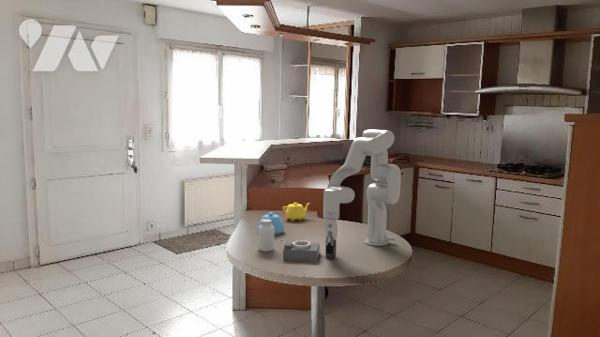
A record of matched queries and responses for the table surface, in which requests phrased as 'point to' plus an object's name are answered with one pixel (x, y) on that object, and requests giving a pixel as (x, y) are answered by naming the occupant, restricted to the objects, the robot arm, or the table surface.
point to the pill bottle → (266, 235)
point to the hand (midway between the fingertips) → (330, 250)
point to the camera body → (301, 251)
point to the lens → (333, 256)
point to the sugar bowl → (274, 222)
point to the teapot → (295, 211)
